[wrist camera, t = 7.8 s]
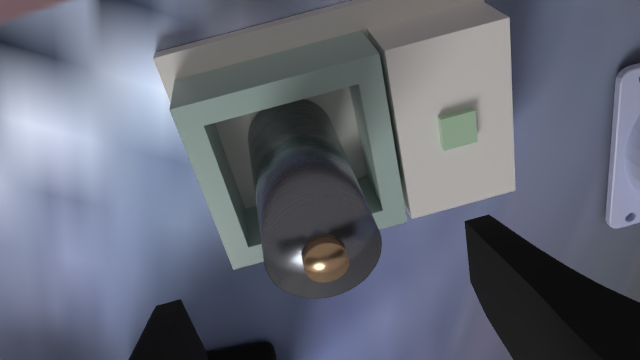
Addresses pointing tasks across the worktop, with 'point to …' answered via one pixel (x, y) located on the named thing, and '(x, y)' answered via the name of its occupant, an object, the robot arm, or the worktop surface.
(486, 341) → the worktop surface
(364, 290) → the worktop surface
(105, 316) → the worktop surface
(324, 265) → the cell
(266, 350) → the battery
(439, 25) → the charger
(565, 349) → the robot arm
